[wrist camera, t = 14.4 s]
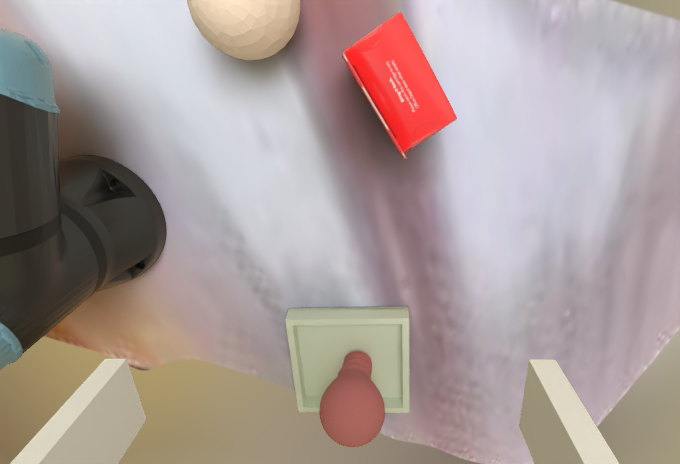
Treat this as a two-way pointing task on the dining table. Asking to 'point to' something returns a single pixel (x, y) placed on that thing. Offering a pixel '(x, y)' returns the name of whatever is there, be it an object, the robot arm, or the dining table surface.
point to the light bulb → (353, 403)
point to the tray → (349, 350)
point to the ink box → (399, 83)
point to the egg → (246, 25)
